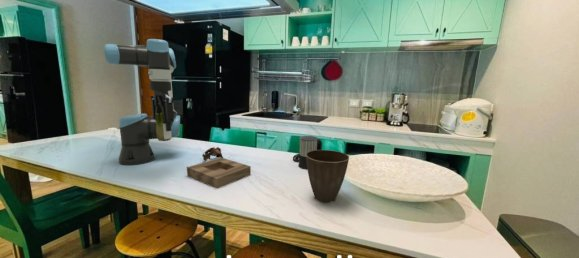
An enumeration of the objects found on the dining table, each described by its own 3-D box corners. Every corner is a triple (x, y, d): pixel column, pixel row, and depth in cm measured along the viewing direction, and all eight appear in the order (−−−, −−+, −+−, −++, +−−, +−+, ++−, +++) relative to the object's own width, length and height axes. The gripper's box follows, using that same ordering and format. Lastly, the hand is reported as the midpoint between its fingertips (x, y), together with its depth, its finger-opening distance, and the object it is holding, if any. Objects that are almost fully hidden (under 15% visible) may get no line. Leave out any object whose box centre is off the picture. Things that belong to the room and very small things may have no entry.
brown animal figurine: (222, 165, 115) (212, 152, 112) (206, 171, 117) (197, 159, 114) (229, 152, 126) (220, 140, 123) (214, 158, 128) (206, 147, 125)
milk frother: (311, 171, 109) (313, 140, 107) (283, 164, 117) (284, 136, 114) (323, 163, 122) (324, 135, 119) (296, 157, 129) (297, 131, 127)
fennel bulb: (157, 142, 93) (155, 113, 91) (156, 140, 97) (153, 111, 95) (173, 140, 96) (171, 112, 94) (171, 138, 100) (169, 111, 98)
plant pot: (295, 198, 82) (297, 155, 79) (318, 185, 94) (320, 147, 91) (332, 213, 73) (335, 165, 70) (352, 197, 84) (356, 155, 81)
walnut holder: (187, 175, 99) (186, 167, 99) (221, 165, 114) (221, 157, 113) (217, 188, 88) (216, 178, 87) (250, 174, 103) (250, 166, 102)
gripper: (139, 80, 94) (144, 135, 98) (162, 80, 84) (166, 142, 88) (158, 80, 100) (162, 133, 104) (181, 81, 90) (185, 139, 94)
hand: (164, 137), depth 96 cm, fingers closed on fennel bulb, 5 cm apart
